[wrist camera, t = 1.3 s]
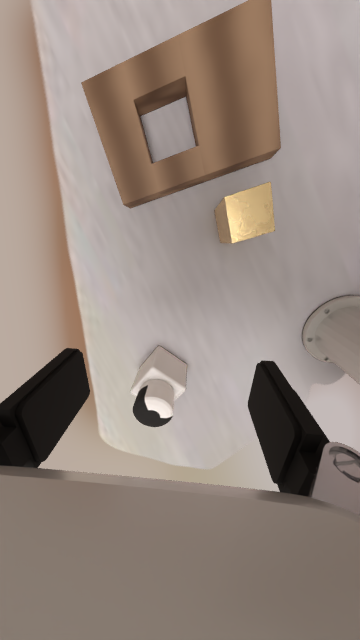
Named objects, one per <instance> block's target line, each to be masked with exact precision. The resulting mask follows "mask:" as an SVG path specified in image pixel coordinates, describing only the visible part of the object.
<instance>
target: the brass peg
mask: <svg viewBox="0 0 360 640" xmlns="http://www.w3.org/2000/svg"><path fill="white" fill-rule="evenodd" d="M214 212H215V217H216V222H217V227H218V233H219V238H220V243H236V242H239V241H242V240H246V239H249V238H253V237H256V236H259V235H263V234H266V233H269V232H273V231H275V226H274V214H273V203H272V191H271V182H268V183H265V184H262V185H259V186H256V187H253V188H250V189H247V190H244V191H241V192H238V193H235V194H232V195H230V196H227V197H224V198H223V200H222V201H221V202H220V204H219V205H218V206H217V208H216V209H215V210H214Z"/></svg>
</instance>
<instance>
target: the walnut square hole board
mask: <svg viewBox="0 0 360 640" xmlns="http://www.w3.org/2000/svg"><path fill="white" fill-rule="evenodd" d="M82 86H83V89H84V92H85V95H86V98H87V101H88V104H89V107H90V109H91V112H92V115H93V118H94V121H95V124H96V127H97V130H98V133H99V135H100V138H101V141H102V144H103V147H104V150H105V153H106V156H107V159H108V161H109V164H110V167H111V170H112V173H113V176H114V179H115V182H116V185H117V188H118V190H119V193H120V196H121V199H122V202H123V205H125V206H127V207H129V208H132V207H135V206H138V205H141V204H144V203H146V202H149V201H152V200H155V199H158V198H160V197H163V196H166V195H169V194H172V193H175V192H177V191H180V190H183V189H186V188H189V187H191V186H194V185H197V184H200V183H203V182H205V181H208V180H211V179H214V178H217V177H219V176H222V175H225V174H228V173H231V172H234V171H236V170H239V169H242V168H245V167H248V166H250V165H253V164H256V163H259V162H262V161H264V160H267V159H270V158H271V157H272V156H273V155H274V154H275V153H276V152H277V151H278V150H279V149H280V148H281V144H280V129H279V114H278V98H277V83H276V68H275V53H274V38H273V23H272V8H271V0H248V1H246V2H244V3H242V4H240V5H238V6H236V7H234V8H232V9H230V10H228V11H226V12H224V13H222V14H220V15H218V16H216V17H214V18H212V19H210V20H208V21H206V22H204V23H202V24H200V25H198V26H196V27H193V28H191V29H189V30H187V31H185V32H183V33H181V34H179V35H177V36H175V37H173V38H171V39H169V40H167V41H165V42H163V43H161V44H159V45H157V46H155V47H153V48H151V49H149V50H147V51H145V52H143V53H141V54H139V55H137V56H134V57H132V58H130V59H128V60H126V61H124V62H122V63H120V64H118V65H116V66H114V67H112V68H110V69H108V70H106V71H104V72H102V73H100V74H98V75H96V76H94V77H92V78H90V79H88V80H86V81H84V82H82ZM185 96H186V98H187V103H188V108H189V113H190V118H191V123H192V128H193V133H194V138H195V143H196V147H194V148H191V149H189V150H186V151H183V152H181V153H178V154H176V155H173V156H171V157H168V158H165V159H163V160H160V161H158V162H155V163H153V161H152V158H151V154H150V150H149V147H148V143H147V140H146V136H145V132H144V129H143V125H142V121H141V118H140V116H142V115H144V114H146V113H149V112H151V111H153V110H155V109H158V108H160V107H162V106H165V105H167V104H169V103H171V102H174V101H176V100H178V99H181V98H183V97H185Z"/></svg>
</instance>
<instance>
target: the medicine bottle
mask: <svg viewBox="0 0 360 640" xmlns="http://www.w3.org/2000/svg"><path fill="white" fill-rule="evenodd" d="M186 374H187V364H185V363H184V362H183V361H181V360H180V359H178V358H177V357H175V356H174V355H172V354H171V353H169V352H168V351H167V350H165V349H164V348H162V347H161V346H158V347H157V348H156V349H155V350H154V352H153V353H152V354H151V355H150V356H149V357H148V359H147V360H146V361H145V362H144V363H143V364H142V365H141V367H140V368H139V371H138V373H137V376H136V378H135V380H134V383H133V385H132V388H131V390H130V393H131V394H133V395H134V396H136V400H135V403H134V406H133V413H134V416H135V417H136V419H137V420H138V421H139V422H140V423H142V424H144V425H146V426H150V427H159V426H163V425H165V424H166V423H168V422H169V421H170V420H171V418H172V416H173V407H174V400H176V399H177V398H178V397H179V396H180V395H181V394H182V393H183V392H184V391H185V390H186Z"/></svg>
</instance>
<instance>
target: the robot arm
mask: <svg viewBox="0 0 360 640" xmlns="http://www.w3.org/2000/svg"><path fill="white" fill-rule="evenodd" d="M302 340H303V344H304V346H305V348H306V350H307V351H308V352H309V353H310V354H311V355H312V356H313V357H314V358H316V359H318V360H320V361H323V362H329V363H335V364H336V365H337V366H339V367H340V368H341V369H342V370H343V371H344V372H346V373H347V374H348V375H349V376H350V377H351V378H353V379H354V380H355V381H356V382H357V383H358V384H360V296H354V295H353V296H344V297H339V298H336V299H334V300H331V301H329V302H327V303H325V304H324V305H322V306H321V307H320V308H318V309H317V310H316V311H315V312H314V313H313V314H312V315H311V316H310V318H309V319H308V321H307V322H306V324H305V327H304V330H303V334H302ZM89 394H90V389H89V383H88V378H87V373H86V369H85V364H84V358H83V354H82V352H80V351H79V349H71V348H66V349H65V350H63V351H62V352H61V353H60V354H59V355H58V356H56V357H55V358H54V359H53V360H51V361H50V362H49V363H48V364H47V365H46V366H44V368H42V369H41V370H40V371H38V372H37V373H36V374H35V375H34V376H33V377H31V378H30V379H29V380H28V381H27V382H25V383H24V384H23V385H22V386H21V387H20V388H18V389H17V390H16V391H15V392H14V393H12V394H11V395H10V396H9V397H8V398H6V399H5V400H4V401H3V402H2V403H1V404H0V640H360V453H359V452H358V451H356V450H354V449H353V448H351V447H349V446H347V445H345V444H342V443H338V442H330V441H329V440H328V438H327V437H326V435H325V434H324V432H323V431H322V430H321V428H320V427H319V425H318V424H317V422H316V421H315V419H314V418H313V416H312V415H311V414H310V412H309V410H308V409H307V408H306V406H305V405H304V403H303V402H302V400H301V399H300V397H299V396H298V394H297V393H296V392H295V391H294V390H293V389H292V387H291V386H290V384H289V383H288V381H287V380H286V378H285V377H284V375H283V374H282V372H281V371H280V369H279V368H278V366H277V365H276V364H275V362H274V361H261V362H260V363H258V364H257V366H256V370H255V374H254V379H253V383H252V387H251V392H250V396H249V400H248V409H249V412H250V415H251V418H252V421H253V424H254V427H255V430H256V433H257V436H258V439H259V442H260V445H261V448H262V451H263V454H264V457H265V460H266V463H267V466H268V469H269V472H270V475H271V478H272V480H273V482H274V483H276V484H277V485H278V488H279V490H280V492H274V491H266V490H257V489H249V488H241V487H231V486H222V485H221V486H220V485H212V484H202V483H192V482H182V481H172V480H161V479H151V478H140V477H129V476H118V475H108V474H97V473H86V472H75V471H63V470H52V469H41V468H38V466H39V465H40V464H41V462H43V461H45V460H46V459H47V458H48V456H49V455H50V453H51V452H52V450H53V449H54V447H55V446H56V444H57V443H58V441H59V440H60V438H61V437H62V435H63V434H64V432H65V431H66V429H67V428H68V426H69V425H70V423H71V422H72V420H73V419H74V417H75V416H76V414H77V413H78V411H79V410H80V409H81V407H82V406H83V404H84V403H85V401H86V400H87V398H88V396H89Z"/></svg>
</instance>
